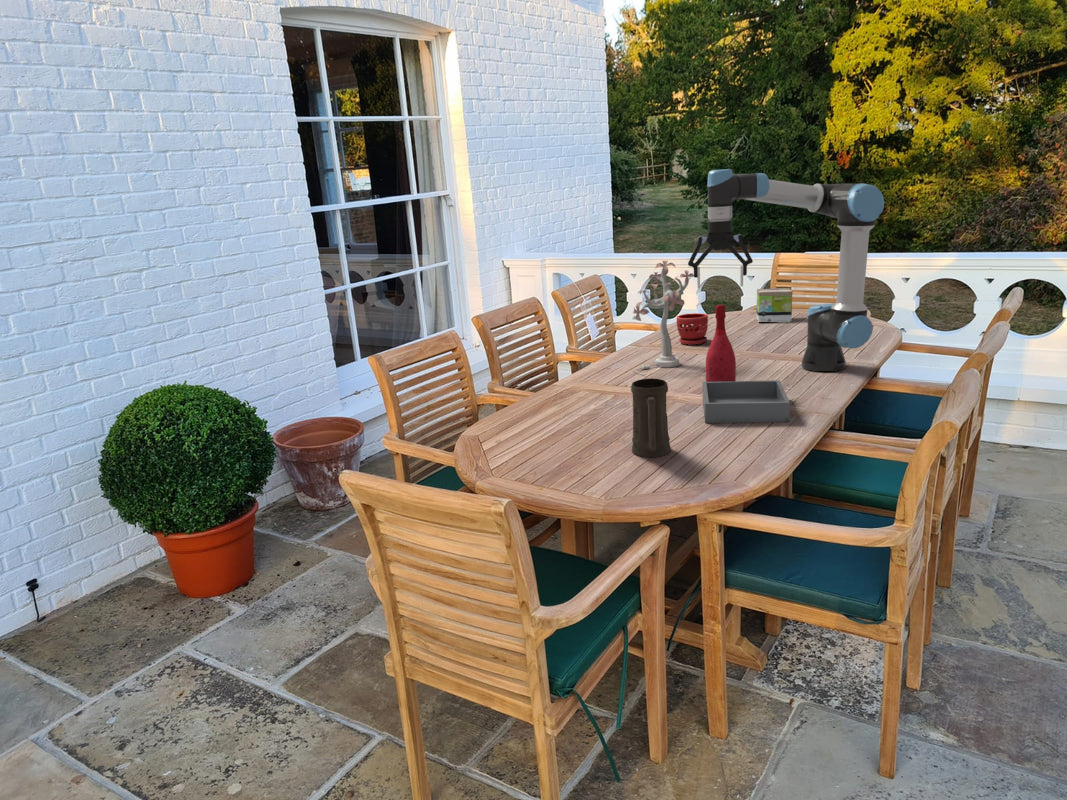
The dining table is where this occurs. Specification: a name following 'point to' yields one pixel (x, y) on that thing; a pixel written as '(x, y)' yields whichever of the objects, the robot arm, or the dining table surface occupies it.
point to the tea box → (774, 305)
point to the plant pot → (692, 328)
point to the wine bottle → (720, 352)
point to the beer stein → (650, 418)
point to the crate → (745, 402)
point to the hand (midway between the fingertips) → (720, 286)
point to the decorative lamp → (663, 302)
